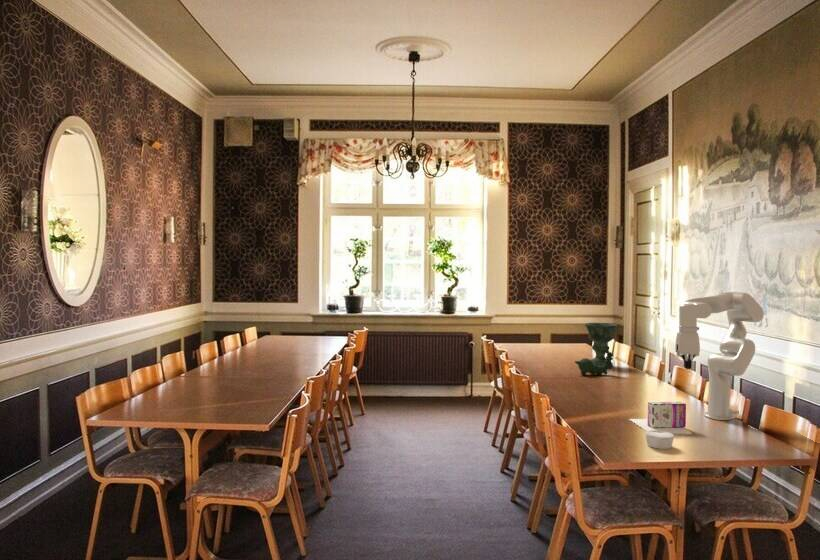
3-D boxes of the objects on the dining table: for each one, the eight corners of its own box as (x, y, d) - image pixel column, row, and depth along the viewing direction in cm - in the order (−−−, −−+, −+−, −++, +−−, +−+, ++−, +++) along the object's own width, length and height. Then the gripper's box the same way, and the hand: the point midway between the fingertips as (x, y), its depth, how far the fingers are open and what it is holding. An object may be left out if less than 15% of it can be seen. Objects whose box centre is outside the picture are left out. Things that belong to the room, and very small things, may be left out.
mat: (667, 420, 308) (667, 419, 308) (691, 434, 284) (691, 433, 284) (628, 420, 307) (628, 418, 307) (650, 434, 283) (650, 433, 283)
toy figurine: (607, 376, 428) (570, 372, 426) (610, 348, 427) (574, 344, 425) (612, 379, 419) (575, 375, 416) (616, 350, 418) (578, 346, 416)
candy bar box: (680, 401, 298) (647, 401, 296) (686, 403, 293) (653, 403, 291) (679, 425, 298) (646, 425, 296) (685, 427, 293) (652, 428, 291)
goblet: (623, 367, 454) (624, 325, 453) (600, 369, 443) (601, 326, 442) (599, 362, 473) (600, 322, 472) (577, 364, 462) (578, 323, 461)
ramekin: (666, 442, 272) (667, 430, 272) (678, 450, 261) (678, 437, 261) (640, 442, 272) (641, 429, 271) (651, 450, 261) (651, 437, 260)
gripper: (699, 328, 304) (699, 366, 305) (668, 329, 303) (668, 367, 304) (707, 330, 296) (707, 369, 298) (676, 331, 296) (676, 370, 297)
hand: (687, 368), depth 301 cm, fingers closed
